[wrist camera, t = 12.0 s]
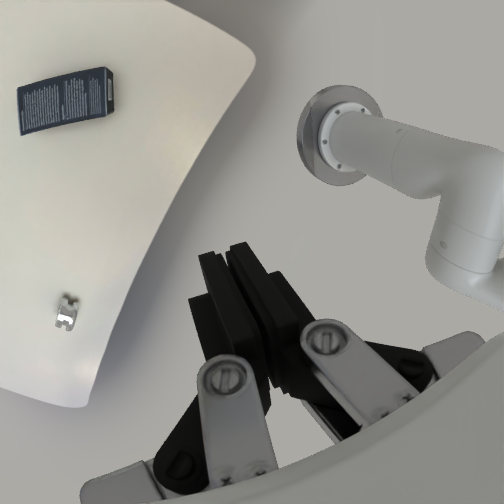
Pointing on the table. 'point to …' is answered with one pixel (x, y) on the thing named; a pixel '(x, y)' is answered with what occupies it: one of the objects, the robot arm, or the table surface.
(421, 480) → the robot arm
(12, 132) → the table surface
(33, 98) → the box
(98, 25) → the table surface
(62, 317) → the grooved metal pulley
